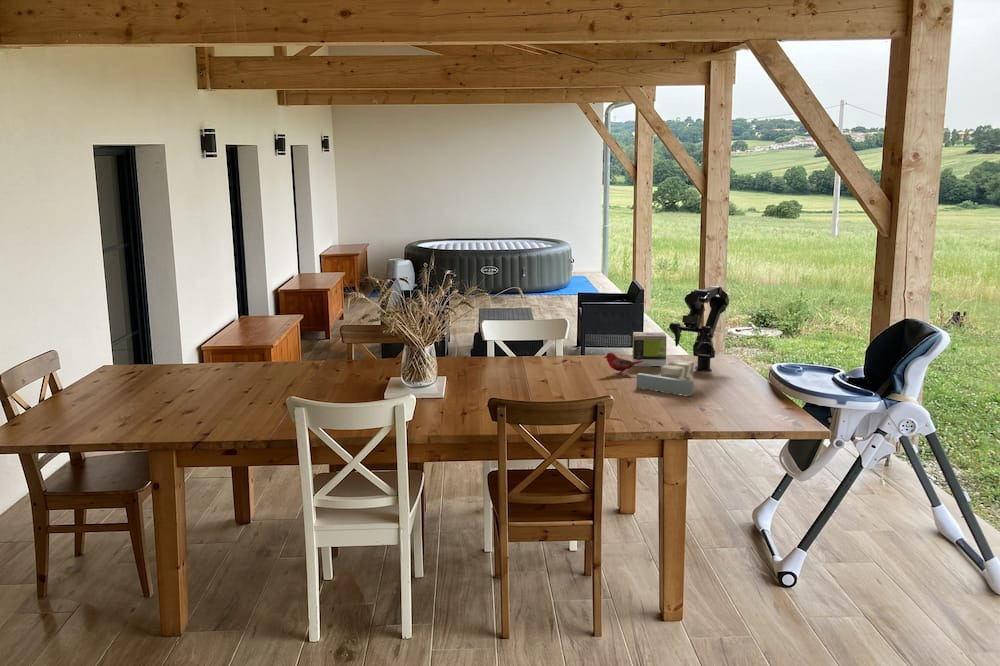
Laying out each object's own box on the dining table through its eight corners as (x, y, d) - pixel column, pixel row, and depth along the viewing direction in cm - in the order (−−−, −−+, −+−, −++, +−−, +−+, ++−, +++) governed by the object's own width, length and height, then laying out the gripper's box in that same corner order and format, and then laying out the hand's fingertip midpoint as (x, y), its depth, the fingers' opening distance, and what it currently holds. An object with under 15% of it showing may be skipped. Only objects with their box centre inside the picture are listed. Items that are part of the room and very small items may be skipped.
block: (675, 379, 382) (676, 359, 380) (692, 382, 378) (693, 362, 376) (660, 387, 369) (661, 367, 367) (678, 390, 365) (679, 369, 363)
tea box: (664, 362, 412) (665, 331, 409) (665, 367, 403) (667, 336, 399) (631, 361, 414) (632, 331, 411) (632, 366, 404) (633, 335, 401)
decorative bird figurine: (603, 373, 392) (603, 351, 389) (642, 373, 392) (643, 351, 390) (604, 375, 389) (604, 353, 387) (643, 374, 389) (644, 353, 387)
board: (639, 386, 370) (639, 372, 369) (692, 395, 357) (693, 381, 356) (636, 388, 368) (636, 374, 367) (690, 396, 355) (691, 382, 354)
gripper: (670, 304, 381) (660, 336, 376) (711, 309, 371) (702, 342, 366) (677, 316, 389) (668, 347, 384) (718, 320, 379) (709, 353, 374)
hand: (686, 347), depth 377 cm, fingers open, 9 cm apart
